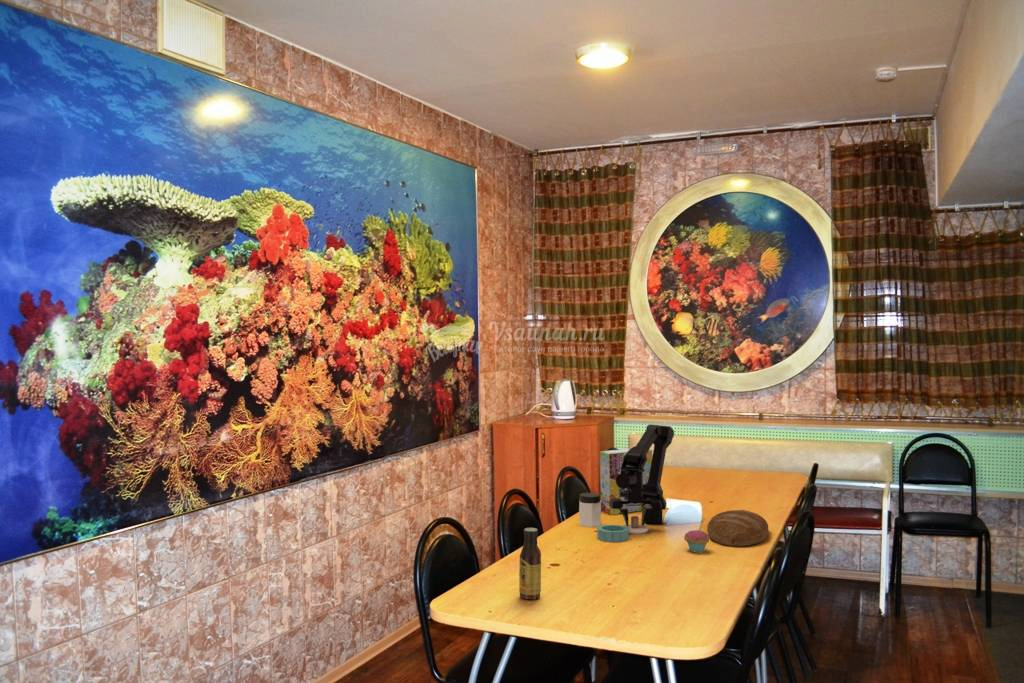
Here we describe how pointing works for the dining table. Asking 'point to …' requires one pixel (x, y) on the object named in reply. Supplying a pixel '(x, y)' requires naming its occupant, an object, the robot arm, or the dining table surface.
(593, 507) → the jar
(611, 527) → the bowl
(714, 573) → the dining table surface
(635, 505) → the robot arm
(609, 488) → the snack box
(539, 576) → the sauce bottle
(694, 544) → the cupcake
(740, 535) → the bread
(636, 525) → the lid
